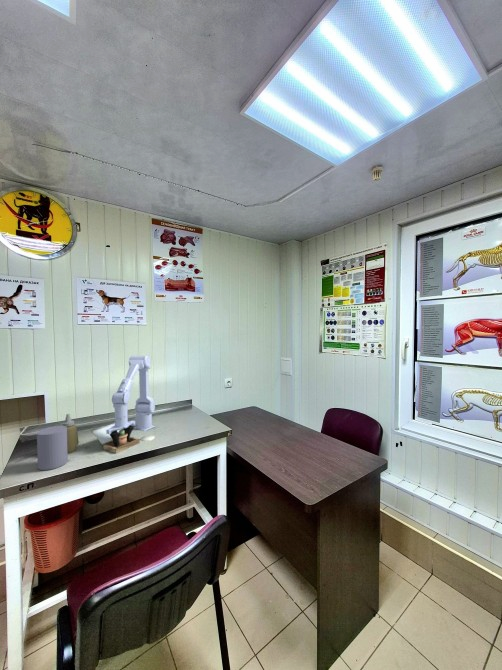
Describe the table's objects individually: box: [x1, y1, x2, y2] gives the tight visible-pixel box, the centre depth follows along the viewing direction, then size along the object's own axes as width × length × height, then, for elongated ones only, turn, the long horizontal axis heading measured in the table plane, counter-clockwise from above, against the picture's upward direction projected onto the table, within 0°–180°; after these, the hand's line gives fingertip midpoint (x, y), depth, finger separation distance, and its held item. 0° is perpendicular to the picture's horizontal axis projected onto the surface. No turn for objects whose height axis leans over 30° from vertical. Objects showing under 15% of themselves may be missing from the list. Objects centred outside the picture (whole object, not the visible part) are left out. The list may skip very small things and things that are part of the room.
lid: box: [91, 422, 119, 446], centre depth 135 cm, size 10×13×1 cm
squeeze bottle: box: [61, 413, 80, 454], centre depth 126 cm, size 8×8×18 cm
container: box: [36, 425, 69, 471], centre depth 114 cm, size 10×10×15 cm
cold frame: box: [102, 436, 141, 454], centre depth 132 cm, size 14×14×5 cm
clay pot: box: [117, 429, 128, 448], centre depth 131 cm, size 5×5×8 cm
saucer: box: [140, 434, 156, 442], centre depth 140 cm, size 7×7×1 cm
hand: (121, 443), depth 131 cm, fingers closed on clay pot, 5 cm apart
